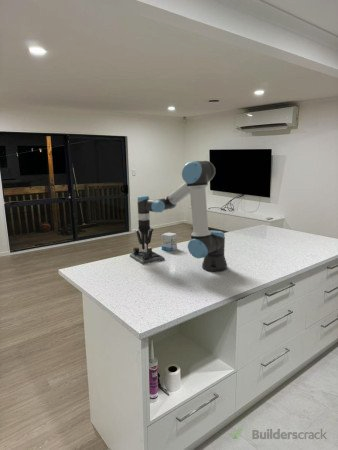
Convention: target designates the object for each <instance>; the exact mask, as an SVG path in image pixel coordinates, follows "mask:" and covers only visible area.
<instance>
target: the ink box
mask: <svg viewBox="0 0 338 450" xmlns="http://www.w3.org/2000/svg"><path fill="white" fill-rule="evenodd" d="M177 249H178V234H177V233H174V232H165V233H162V234H161V250H162V251H163V250H164V251H169V252H172V251H174V250H177Z"/></svg>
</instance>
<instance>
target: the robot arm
mask: <svg viewBox="0 0 338 450" xmlns="http://www.w3.org/2000/svg"><path fill="white" fill-rule="evenodd" d="M215 175H216V167H215V166H214V164H213V163H212V162H211V161H209V160H193V161H188V162H187V163H186V164H184V166H183V167H182V171H181V176H182V177H181V178H182V180H183V181H184V183H182V184H181V185H179V186H178V187H177V188H176V189H175V190H173V192H171V193H170V194H168V196H166V197H164V198H159V199H150V197H149V195H139V196H137V218H138V221H137V222H138V223H137V224H138V228H137V229H136V230H135V231H134V232H135V234H136V236H137V241H138V244H140V245H141V249H142V251H143V252H147V249H148V247H149V245H150V243H151V241H152V236H153V232H154V228H153V227H151V226H150V225H151V220H150V216H151V215H150V213H151V212H153V213H162V212H164V211H167V210H172V209H174V208H176V207H177V204H178V203H180V202H181V201H182V200H184V199H185V198H186V197H188V196H189V195H190V207H191V218H192V219H191V221H192V233H191V234H190V240H189V241H188V243H187V249H188V250H187V251H188V252H189V254H190V255H191V256H192V257H194V258H195V259H203V261H202V266H201V267H202V269H203V270H205V271H207V272H208V271H209V272H217V273H218V272H223V271H226V270H227V269H228V264H227V260H226V256H225V244H226V243H225V240H226V237H225V236H226V235H225V232H223V231H220V230H215V229H214V230H212V229H211V230H209V223H208V222H209V220H208V209H207V208H208V207H207V206H208V205H207V194H206V193H207V192H206V191H207V190H206V188H207V187H208V185H209V182H210V181H212V180H213V179H214V177H215Z"/></svg>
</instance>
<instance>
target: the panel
mask: <svg viewBox="0 0 338 450" xmlns="http://www.w3.org/2000/svg"><path fill="white" fill-rule="evenodd" d="M132 250H133V251H132V252H131V253H130V254H129V257H130V258H131V259H133V260H135V261H136V262H138V263H140V264H141V265H147V264H151V263H156V262H157V263H158V262H161V261H165V260H166V259H165V257H164V256H163V255H161V254H158V253H157V252H155V251H153V250H152V255H149V253H148V252H143V250H140V248H139V247H138V246H135V247H132Z"/></svg>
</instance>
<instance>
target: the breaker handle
mask: <svg viewBox="0 0 338 450" xmlns="http://www.w3.org/2000/svg"><path fill="white" fill-rule="evenodd" d="M152 251H153V248H152V247H151V246H148V249H147V252H148V253H149V255H152Z"/></svg>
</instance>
